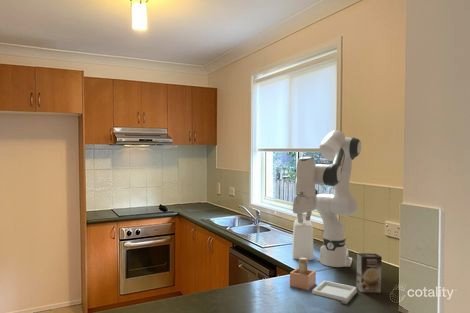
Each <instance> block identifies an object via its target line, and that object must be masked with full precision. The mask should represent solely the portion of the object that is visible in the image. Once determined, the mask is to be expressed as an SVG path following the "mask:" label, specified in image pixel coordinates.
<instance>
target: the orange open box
mask: <svg viewBox="0 0 470 313" xmlns="http://www.w3.org/2000/svg"><path fill="white" fill-rule="evenodd" d="M316 272H317V271H316V270H311V269H309V268H307V275H303V274H299V267H297V268H295V269H294V270H292V271H290V272H289V287H293V288H299V289H302V290H305V291H306V290H307V291H309V290H310V289H311V288H312V287H314V286H315V285H316V284H317V283H316V282H317V281H316V280H317V276H316V275H317V273H316Z"/></svg>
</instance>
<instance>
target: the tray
mask: <svg viewBox="0 0 470 313" xmlns="http://www.w3.org/2000/svg"><path fill="white" fill-rule="evenodd" d="M357 292H358V289H357V287H356V286H353V285H348V284H343V283H339V282H334V281H330V280H325V279H324V280H323V281H321V282H320V283H319V284H318V285H317V286H315V287H314V288H312V290H311V294H313V295H316V296H321V297H325V298H329V299H333V300H338V301H339V303H341V304H345V305H348V303H349V302H350V301H351V300H352V299H353V297H354V296H355V295H356V294H357Z"/></svg>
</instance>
